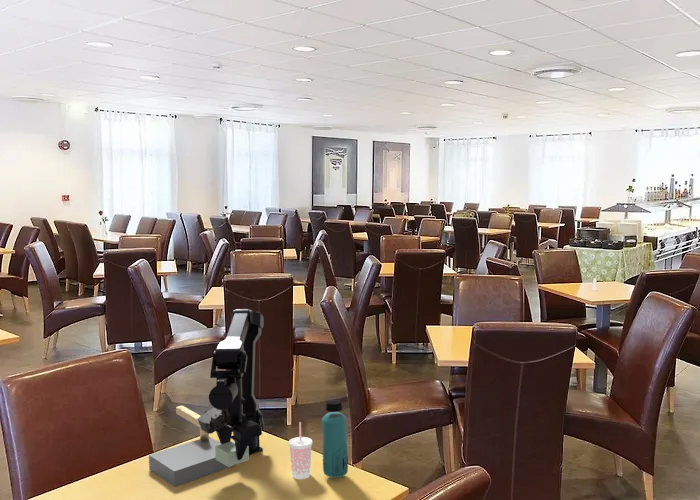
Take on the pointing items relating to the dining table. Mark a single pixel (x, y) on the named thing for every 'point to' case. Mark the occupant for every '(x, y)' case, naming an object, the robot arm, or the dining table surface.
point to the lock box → (186, 462)
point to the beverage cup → (300, 456)
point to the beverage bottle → (334, 440)
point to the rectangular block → (229, 454)
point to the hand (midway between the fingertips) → (232, 455)
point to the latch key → (192, 420)
